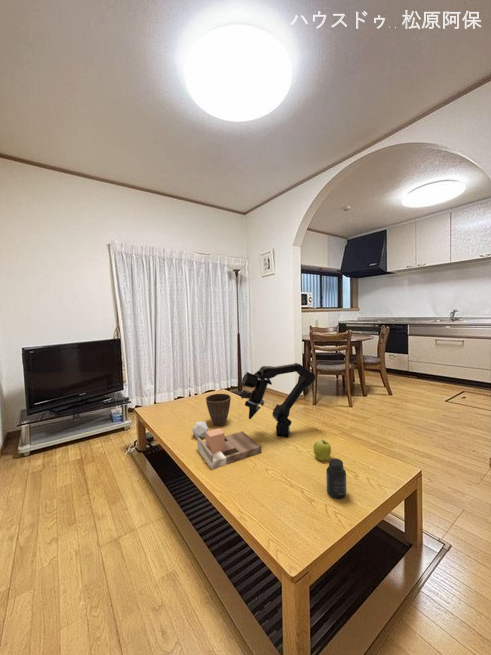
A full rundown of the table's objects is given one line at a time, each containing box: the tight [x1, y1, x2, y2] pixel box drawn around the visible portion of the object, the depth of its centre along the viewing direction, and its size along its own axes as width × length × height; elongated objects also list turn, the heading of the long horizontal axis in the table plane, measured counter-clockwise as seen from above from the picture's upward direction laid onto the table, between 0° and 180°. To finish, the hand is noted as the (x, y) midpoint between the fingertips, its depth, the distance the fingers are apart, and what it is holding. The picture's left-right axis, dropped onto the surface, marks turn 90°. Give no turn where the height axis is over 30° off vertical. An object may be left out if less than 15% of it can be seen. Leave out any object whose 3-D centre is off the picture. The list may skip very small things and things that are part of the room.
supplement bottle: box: [325, 457, 347, 500], centre depth 95 cm, size 7×7×12 cm
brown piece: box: [196, 430, 262, 470], centre depth 127 cm, size 25×19×6 cm
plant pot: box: [205, 393, 232, 427], centre depth 158 cm, size 15×15×16 cm
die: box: [191, 421, 209, 439], centre depth 143 cm, size 8×9×10 cm
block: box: [205, 427, 226, 453], centre depth 123 cm, size 7×6×8 cm
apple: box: [313, 438, 332, 461], centre depth 118 cm, size 8×8×10 cm
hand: (249, 418), depth 136 cm, fingers closed
